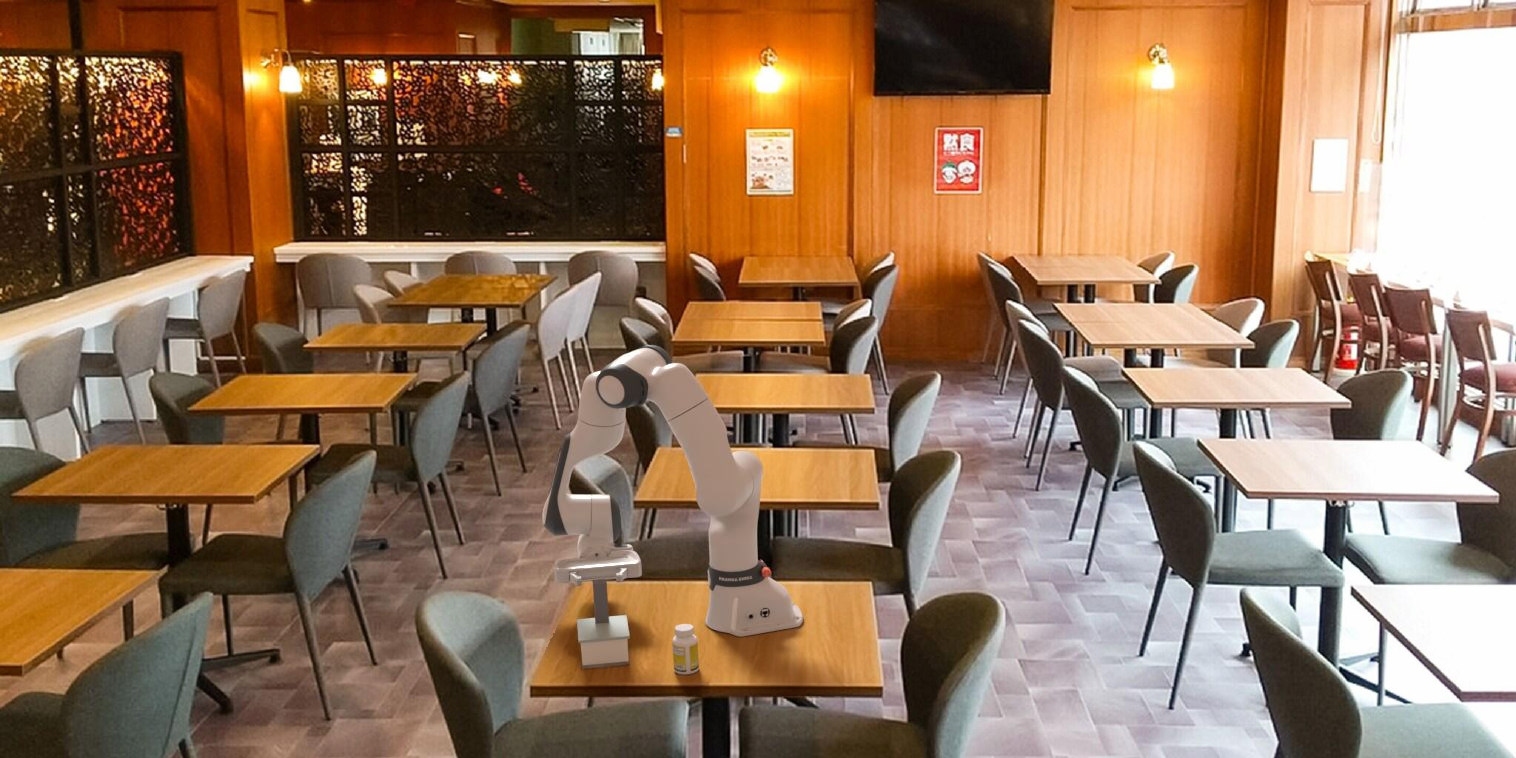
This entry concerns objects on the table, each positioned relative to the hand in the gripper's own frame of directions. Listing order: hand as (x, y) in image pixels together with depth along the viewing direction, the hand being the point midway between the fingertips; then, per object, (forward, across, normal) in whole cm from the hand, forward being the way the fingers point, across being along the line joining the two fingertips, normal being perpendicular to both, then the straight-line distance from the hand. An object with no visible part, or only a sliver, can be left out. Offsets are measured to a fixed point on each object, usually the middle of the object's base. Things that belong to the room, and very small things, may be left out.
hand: (599, 580), depth 327 cm
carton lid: (+14, 0, +6) cm, 15 cm away
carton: (+14, 0, +12) cm, 19 cm away
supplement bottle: (+25, +17, +13) cm, 33 cm away
